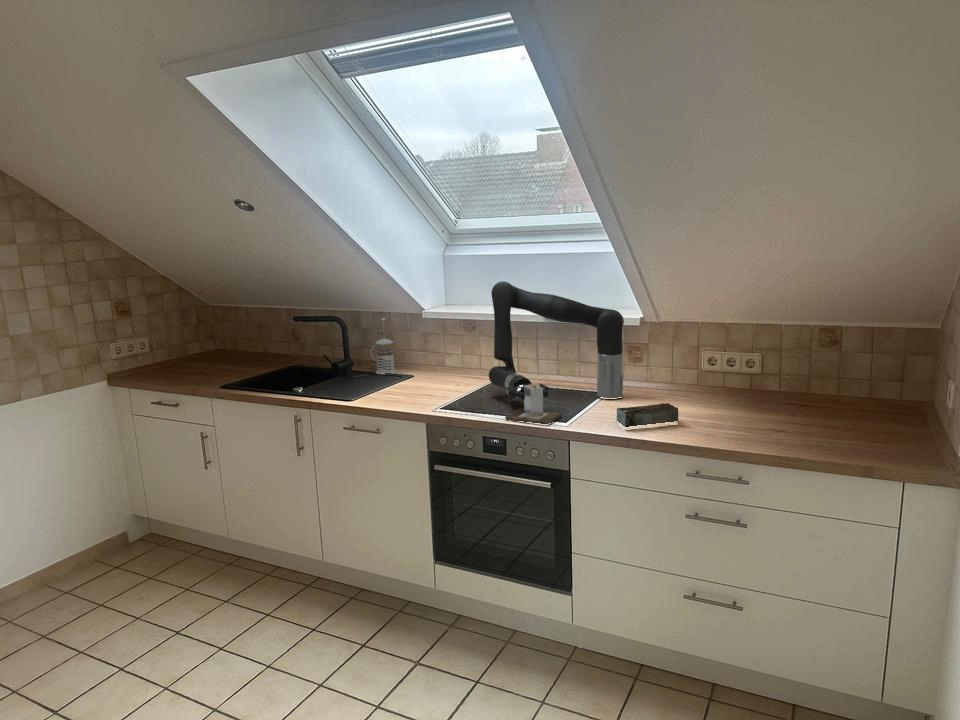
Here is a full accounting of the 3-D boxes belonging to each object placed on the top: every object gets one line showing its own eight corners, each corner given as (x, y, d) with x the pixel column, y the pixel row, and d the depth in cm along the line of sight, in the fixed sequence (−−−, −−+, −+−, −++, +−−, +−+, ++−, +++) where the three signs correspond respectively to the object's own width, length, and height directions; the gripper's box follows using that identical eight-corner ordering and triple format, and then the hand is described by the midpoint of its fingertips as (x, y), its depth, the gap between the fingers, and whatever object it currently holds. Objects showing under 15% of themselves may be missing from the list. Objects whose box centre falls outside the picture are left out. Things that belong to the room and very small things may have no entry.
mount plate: (505, 420, 237) (505, 416, 237) (520, 411, 247) (520, 407, 247) (548, 426, 229) (548, 422, 229) (561, 416, 239) (561, 412, 239)
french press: (392, 374, 309) (389, 319, 304) (368, 373, 311) (365, 319, 306) (399, 369, 318) (396, 316, 313) (375, 369, 321) (372, 316, 315)
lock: (536, 411, 241) (536, 382, 239) (543, 416, 236) (542, 386, 234) (524, 413, 240) (523, 383, 238) (530, 417, 234) (530, 387, 232)
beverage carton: (615, 424, 230) (615, 405, 228) (668, 419, 234) (668, 401, 232) (625, 431, 222) (625, 412, 221) (679, 426, 226) (680, 407, 225)
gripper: (499, 377, 247) (515, 387, 232) (536, 373, 251) (554, 383, 236) (499, 397, 249) (516, 408, 233) (536, 393, 253) (554, 404, 238)
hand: (535, 395), depth 235 cm, fingers open, 8 cm apart
